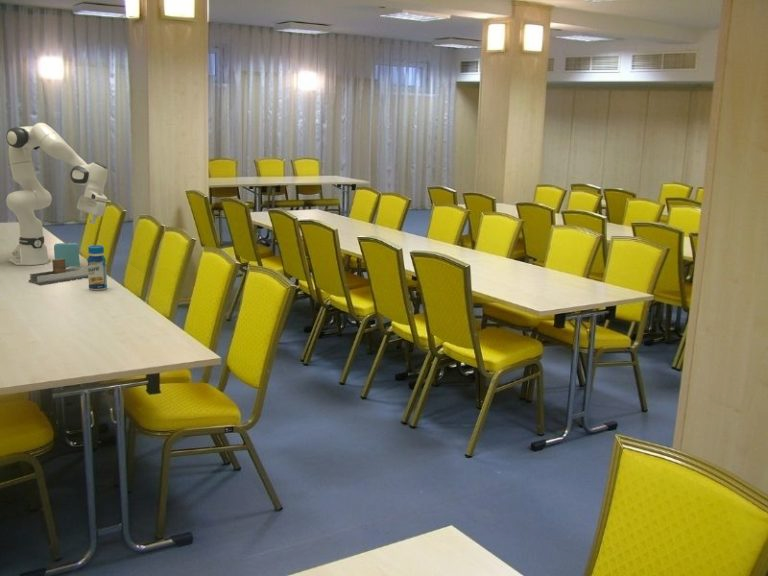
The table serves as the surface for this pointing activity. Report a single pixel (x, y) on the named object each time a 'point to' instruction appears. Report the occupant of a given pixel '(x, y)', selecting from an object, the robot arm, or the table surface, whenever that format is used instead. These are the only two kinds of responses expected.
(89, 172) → the robot arm
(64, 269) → the brown rectangular block
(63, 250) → the data package
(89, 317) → the table surface
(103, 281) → the beverage bottle
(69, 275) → the rail
